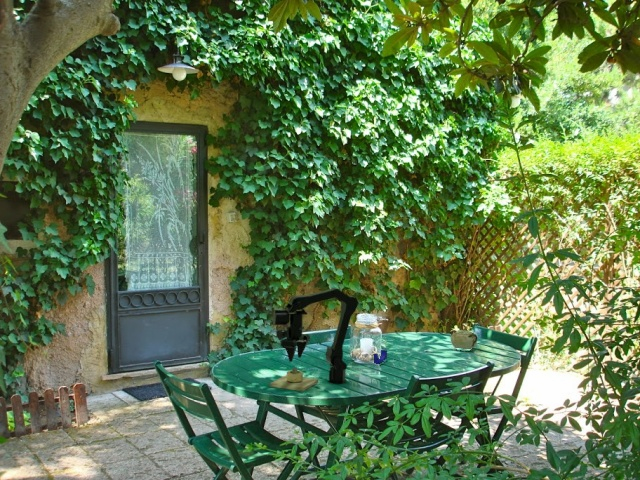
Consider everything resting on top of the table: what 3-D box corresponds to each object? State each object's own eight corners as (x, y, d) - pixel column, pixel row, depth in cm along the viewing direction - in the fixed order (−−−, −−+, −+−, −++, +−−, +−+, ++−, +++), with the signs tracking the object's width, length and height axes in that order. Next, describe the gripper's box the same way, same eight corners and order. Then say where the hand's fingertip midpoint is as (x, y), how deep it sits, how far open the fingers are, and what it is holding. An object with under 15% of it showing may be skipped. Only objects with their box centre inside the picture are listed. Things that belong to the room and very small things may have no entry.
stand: (318, 382, 284) (318, 367, 284) (303, 391, 270) (303, 374, 269) (286, 378, 291) (286, 363, 290) (270, 386, 276) (270, 370, 276)
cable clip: (378, 366, 320) (379, 354, 320) (371, 365, 323) (371, 353, 323) (389, 362, 330) (389, 350, 330) (381, 360, 333) (382, 349, 333)
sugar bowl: (441, 348, 368) (442, 322, 368) (459, 346, 377) (460, 321, 376) (467, 355, 352) (468, 328, 352) (485, 352, 360) (486, 326, 360)
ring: (305, 379, 282) (305, 371, 282) (298, 382, 276) (298, 374, 275) (290, 377, 285) (291, 369, 285) (284, 380, 278) (284, 372, 278)
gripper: (288, 320, 292) (287, 353, 292) (270, 326, 274) (269, 361, 275) (310, 322, 287) (309, 356, 288) (293, 328, 270) (292, 364, 271)
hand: (295, 359), depth 280 cm, fingers open, 9 cm apart
